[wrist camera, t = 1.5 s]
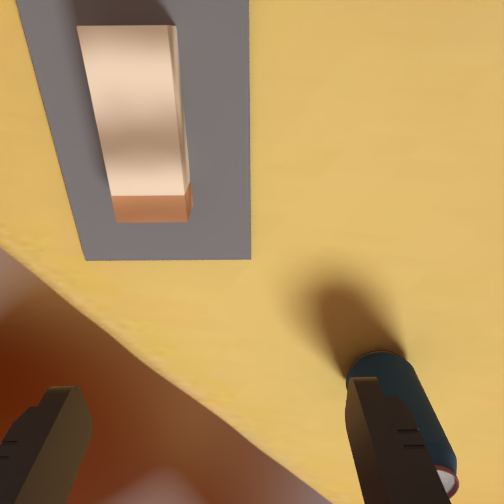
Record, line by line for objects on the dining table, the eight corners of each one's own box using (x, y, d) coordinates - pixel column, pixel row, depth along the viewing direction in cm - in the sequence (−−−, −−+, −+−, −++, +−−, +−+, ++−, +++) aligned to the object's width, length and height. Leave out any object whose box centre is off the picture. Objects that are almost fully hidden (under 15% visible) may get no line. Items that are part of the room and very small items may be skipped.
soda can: (329, 370, 40) (357, 490, 29) (384, 334, 37) (436, 452, 27) (369, 401, 42) (408, 522, 32) (423, 369, 40) (484, 490, 29)
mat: (-1, -76, 21) (-6, -78, 21) (247, -78, 21) (248, -80, 21) (87, 257, 32) (85, 260, 32) (251, 256, 32) (251, 259, 32)
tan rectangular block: (95, 26, 23) (75, 26, 21) (176, 25, 23) (167, 25, 21) (128, 205, 29) (116, 222, 27) (193, 205, 30) (187, 222, 27)
